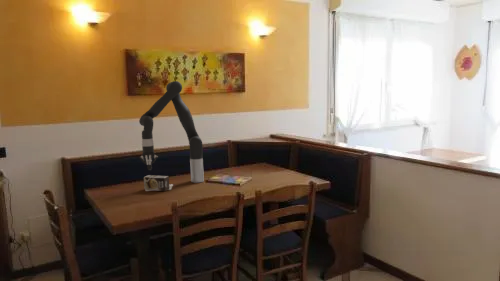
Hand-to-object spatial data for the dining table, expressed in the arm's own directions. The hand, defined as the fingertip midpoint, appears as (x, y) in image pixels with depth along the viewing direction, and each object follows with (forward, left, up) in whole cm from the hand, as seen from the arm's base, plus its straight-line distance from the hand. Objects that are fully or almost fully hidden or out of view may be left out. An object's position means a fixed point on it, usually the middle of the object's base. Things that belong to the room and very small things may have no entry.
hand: (149, 169), depth 270 cm
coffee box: (+3, +2, -8) cm, 9 cm away
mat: (-6, -1, -13) cm, 15 cm away
